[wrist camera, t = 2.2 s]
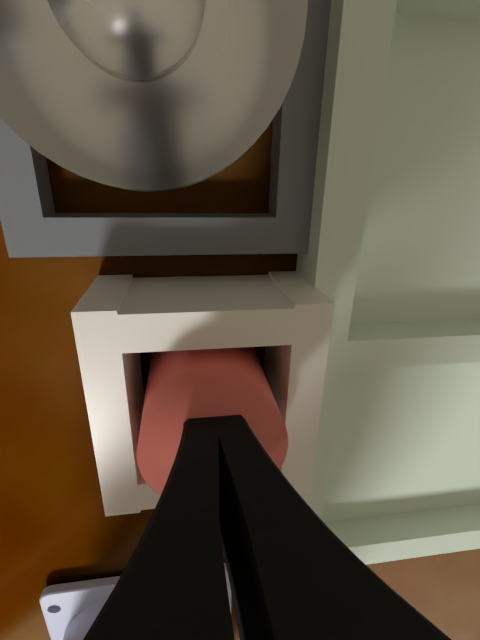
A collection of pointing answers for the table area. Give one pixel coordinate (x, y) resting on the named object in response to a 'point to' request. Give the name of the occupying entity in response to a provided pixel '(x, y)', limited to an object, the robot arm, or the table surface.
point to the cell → (146, 83)
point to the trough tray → (399, 278)
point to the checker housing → (194, 334)
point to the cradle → (181, 228)
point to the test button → (204, 404)
